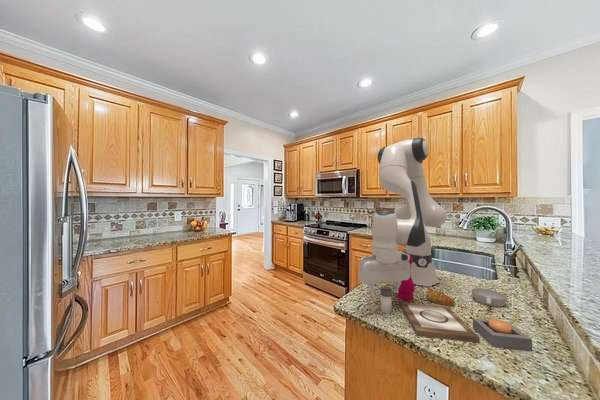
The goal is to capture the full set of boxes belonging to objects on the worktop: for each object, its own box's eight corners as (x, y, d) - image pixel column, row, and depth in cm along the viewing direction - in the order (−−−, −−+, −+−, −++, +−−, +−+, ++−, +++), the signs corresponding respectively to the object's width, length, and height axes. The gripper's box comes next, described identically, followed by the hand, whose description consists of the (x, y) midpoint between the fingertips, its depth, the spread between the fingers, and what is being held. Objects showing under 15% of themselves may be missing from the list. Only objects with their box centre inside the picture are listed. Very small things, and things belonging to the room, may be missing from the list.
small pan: (506, 301, 86) (506, 292, 86) (509, 319, 73) (509, 307, 73) (472, 294, 93) (472, 285, 93) (469, 309, 80) (469, 298, 80)
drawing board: (400, 306, 81) (400, 301, 81) (447, 310, 78) (447, 305, 78) (416, 335, 63) (416, 329, 63) (479, 342, 60) (479, 335, 60)
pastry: (457, 304, 84) (457, 294, 84) (450, 309, 80) (450, 298, 80) (431, 296, 91) (431, 287, 91) (423, 300, 87) (423, 290, 87)
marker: (379, 308, 79) (379, 286, 80) (390, 309, 79) (390, 287, 79) (381, 313, 76) (381, 290, 76) (392, 314, 75) (392, 291, 75)
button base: (472, 327, 67) (472, 318, 67) (506, 331, 65) (506, 321, 65) (492, 346, 58) (492, 335, 58) (532, 351, 56) (531, 339, 56)
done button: (484, 325, 65) (484, 317, 65) (503, 327, 64) (503, 319, 64) (496, 335, 60) (495, 326, 60) (516, 337, 59) (516, 328, 59)
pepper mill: (391, 295, 91) (391, 248, 92) (404, 293, 94) (404, 247, 94) (405, 302, 84) (405, 251, 85) (419, 300, 87) (418, 250, 87)
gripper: (365, 258, 72) (364, 300, 71) (413, 255, 78) (413, 294, 77) (354, 254, 78) (354, 293, 77) (400, 252, 84) (400, 288, 83)
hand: (384, 293), depth 77 cm, fingers open, 8 cm apart
